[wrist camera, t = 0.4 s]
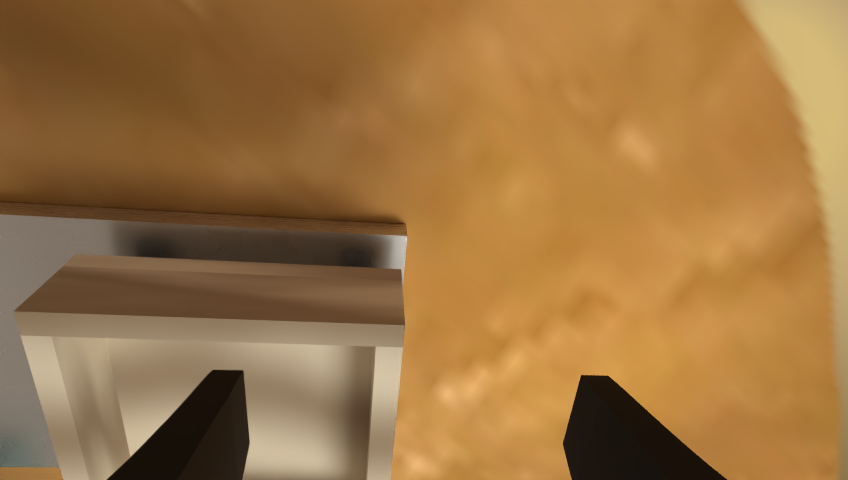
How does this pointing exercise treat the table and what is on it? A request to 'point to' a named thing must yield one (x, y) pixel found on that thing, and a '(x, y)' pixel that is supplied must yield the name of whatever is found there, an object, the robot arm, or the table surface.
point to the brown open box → (219, 359)
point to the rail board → (146, 237)
